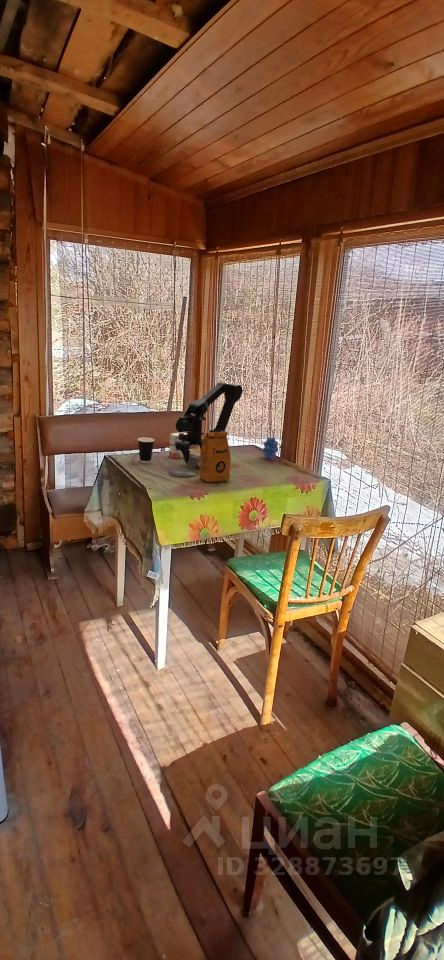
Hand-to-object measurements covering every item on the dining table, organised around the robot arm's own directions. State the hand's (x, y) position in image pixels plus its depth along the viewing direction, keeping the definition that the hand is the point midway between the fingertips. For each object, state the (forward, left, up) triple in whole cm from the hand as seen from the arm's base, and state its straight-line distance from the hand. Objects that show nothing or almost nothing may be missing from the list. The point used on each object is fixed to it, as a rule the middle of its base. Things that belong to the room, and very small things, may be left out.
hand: (193, 462), depth 263 cm
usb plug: (0, +1, -2) cm, 2 cm away
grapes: (-44, +9, -2) cm, 45 cm away
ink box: (-4, -17, -2) cm, 18 cm away
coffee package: (+6, +22, -2) cm, 23 cm away
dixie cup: (+16, -17, -2) cm, 24 cm away
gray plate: (+12, +7, -2) cm, 14 cm away
